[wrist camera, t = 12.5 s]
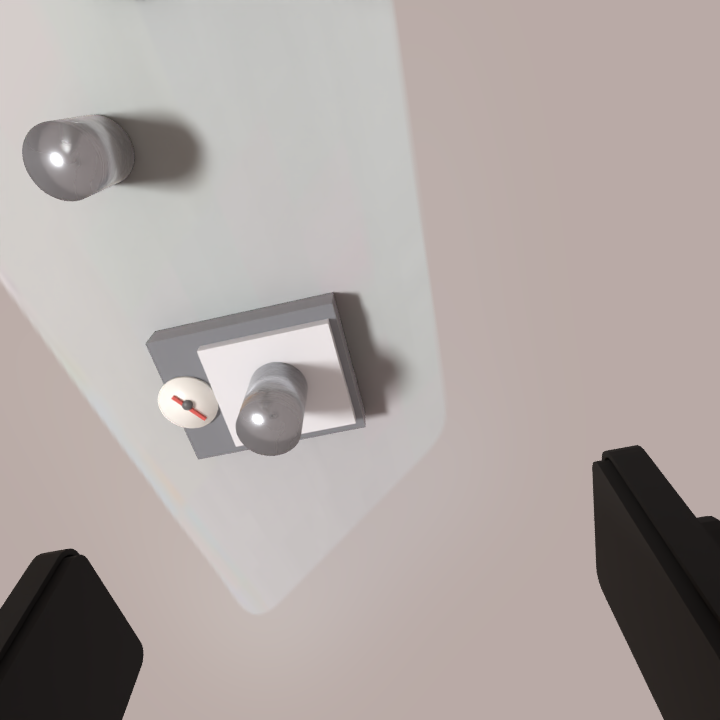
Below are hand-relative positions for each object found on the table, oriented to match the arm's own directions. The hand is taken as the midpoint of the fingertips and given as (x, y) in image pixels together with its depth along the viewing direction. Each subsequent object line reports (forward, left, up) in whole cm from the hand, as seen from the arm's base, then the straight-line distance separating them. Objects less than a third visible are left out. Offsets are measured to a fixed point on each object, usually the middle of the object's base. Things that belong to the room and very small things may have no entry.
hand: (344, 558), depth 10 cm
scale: (+10, -9, -28) cm, 31 cm away
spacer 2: (+10, -7, -26) cm, 28 cm away
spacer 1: (-7, -14, -28) cm, 32 cm away
